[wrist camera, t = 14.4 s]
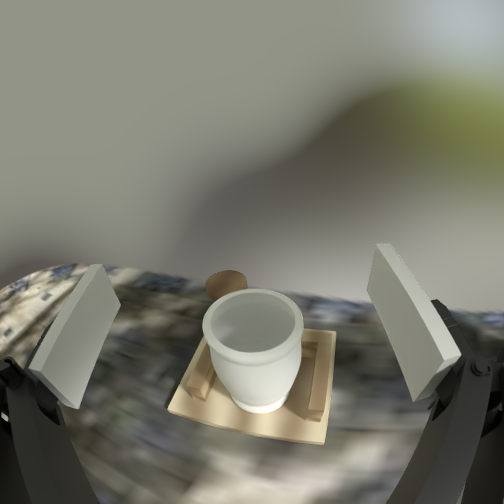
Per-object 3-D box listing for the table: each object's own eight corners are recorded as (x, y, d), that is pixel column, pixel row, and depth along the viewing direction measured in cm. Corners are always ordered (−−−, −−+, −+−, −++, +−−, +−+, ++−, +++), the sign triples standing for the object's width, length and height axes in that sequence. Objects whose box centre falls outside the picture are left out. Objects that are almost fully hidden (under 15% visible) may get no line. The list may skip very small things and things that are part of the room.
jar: (209, 399, 35) (181, 333, 27) (247, 351, 42) (236, 278, 34) (275, 432, 30) (275, 377, 22) (308, 376, 37) (319, 303, 29)
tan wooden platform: (335, 335, 44) (345, 280, 38) (323, 444, 28) (341, 409, 22) (214, 320, 50) (202, 267, 43) (169, 412, 34) (138, 368, 27)
